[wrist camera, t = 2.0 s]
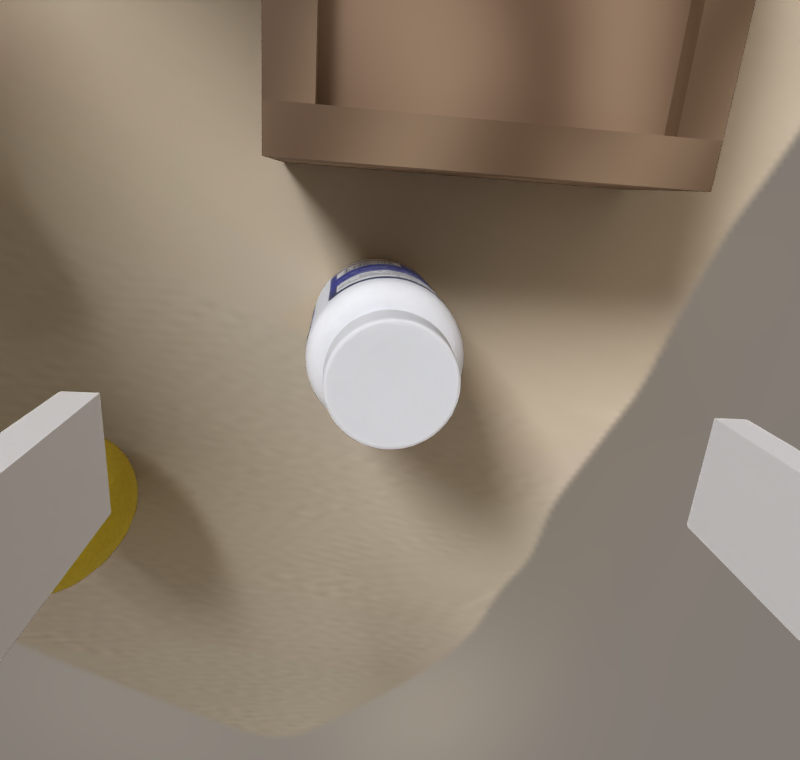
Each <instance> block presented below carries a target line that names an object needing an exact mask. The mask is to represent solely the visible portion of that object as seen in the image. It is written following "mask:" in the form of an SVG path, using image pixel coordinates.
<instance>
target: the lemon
mask: <svg viewBox="0 0 800 760" xmlns="http://www.w3.org/2000/svg"><path fill="white" fill-rule="evenodd" d="M104 442H105V452H106V463H107V473H108V484H109V495H110V505H111V514H110V515H109V516H108V518H107V519H106V520H105V522H104V523H103V524H102V526H101V527H100V528H99V530H98V531H97V533H96V534H95V535H94V537H93V538H92V539H91V541H90V542H89V543H88V545H87V546H86V547H85V549H84V550H83V551H82V553H81V554H80V555H79V557H78V558H77V559H76V561H75V562H74V563H73V565H72V566H71V567H70V569H69V570H68V571H67V573H66V574H65V575H64V577H63V578H62V579H61V581H60V582H59V583H58V585H57V586H56V587H55V589H54V590H53V592H52V593H51V594H53V593H56V592H58V591H61V590H63V589H66V588H68V587H70V586H72V585H74V584H76V583H78V582H79V581H81V580H82V579H83V578H85V577H86V576H87V575H89V574H90V573H92V572H93V571H94V570H96V569H97V568H98V567H99V566H101V565H102V564H103V563H104V562H105V561H106V560H107V559H108V558H109V556H110V555H111V554H112V553H113V552H114V550H115V549H116V548H117V546H118V545H119V544H120V543H121V541H122V540H123V539H124V537H125V535H126V534H127V532H128V530H129V527H130V525H131V522H132V519H133V517H134V514H135V511H136V508H137V497H138V485H137V480H136V476H135V472H134V469H133V467H132V466H131V464H130V462H129V460H128V458H127V456H126V455H125V454H124V453H123V452H122V451H121V450H120V449H119V448H118V447H117V446H116V445H115V444H113V443H112V442H110V441H109V440H107V439H106V438H104Z"/></svg>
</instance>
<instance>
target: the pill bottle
mask: <svg viewBox="0 0 800 760" xmlns="http://www.w3.org/2000/svg"><path fill="white" fill-rule="evenodd" d="M463 361H464V350H463V342H462V337H461V334H460V330H459V328H458V326H457V323H456V321H455V319H454V317H453V316H452V314H451V312H450V311H449V309H448V308H447V307H446V305H445V304H444V303H443V302H442V300H441V299H440V298H439V297H438V296H437V294H436V293H435V292H434V291H433V290H432V289H431V288H430V286H429V285H428V284H427V283H426V282H425V281H424V280H423V279H422V278H421V277H420V276H419V275H418V274H417V273H416V272H414V271H413V270H412V269H410V268H409V267H407V266H405V265H403V264H401V263H398V262H395V261H392V260H387V259H367V260H362V261H358V262H355V263H352V264H350V265H348V266H346V267H345V268H343V269H341V270H340V271H339V272H337V273H336V274H335V275H334V276H333V277H332V278H331V279H330V280H329V281H328V282H327V284H326V285H325V286H324V288H323V289H322V291H321V293H320V295H319V297H318V300H317V303H316V306H315V309H314V313H313V318H312V323H311V326H310V330H309V334H308V339H307V344H306V369H307V374H308V378H309V381H310V384H311V386H312V389H313V391H314V393H315V394H316V396H317V398H318V399H319V400H320V402H321V403H322V405H323V406H324V407H325V408H326V409H327V410H328V412H329V414H330V415H331V417H332V419H333V420H334V422H335V423H336V424H337V426H338V427H339V428H340V429H341V430H342V431H343V432H344V433H345V434H347V435H348V436H349V437H351V438H352V439H354V440H355V441H357V442H359V443H361V444H364V445H367V446H370V447H373V448H378V449H387V450H390V449H402V448H408V447H411V446H414V445H417V444H419V443H421V442H424V441H426V440H427V439H429V438H430V437H432V436H433V435H435V434H436V433H437V432H438V431H439V430H440V429H441V428H442V427H443V426H444V425H445V424H446V423H447V422H448V420H449V419H450V417H451V416H452V414H453V412H454V410H455V408H456V405H457V403H458V399H459V395H460V389H461V374H462V369H463Z"/></svg>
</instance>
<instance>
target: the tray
mask: <svg viewBox="0 0 800 760" xmlns="http://www.w3.org/2000/svg"><path fill="white" fill-rule="evenodd" d="M754 5H755V0H262V156H265V157H269V158H272V159H275V160H278V161H282V162H291V163H303V164H316V165H328V166H341V167H354V168H366V169H379V170H391V171H404V172H416V173H429V174H441V175H454V176H466V177H479V178H491V179H504V180H516V181H529V182H541V183H554V184H566V185H579V186H591V187H604V188H617V189H632V190H667V191H702V192H711V190H712V185H713V181H714V177H715V172H716V168H717V164H718V159H719V155H720V151H721V147H722V142H723V138H724V134H725V129H726V125H727V121H728V116H729V112H730V108H731V104H732V99H733V95H734V91H735V86H736V82H737V78H738V74H739V69H740V65H741V61H742V56H743V52H744V48H745V43H746V39H747V35H748V31H749V26H750V22H751V18H752V13H753V9H754Z"/></svg>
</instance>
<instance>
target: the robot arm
mask: <svg viewBox="0 0 800 760" xmlns="http://www.w3.org/2000/svg"><path fill="white" fill-rule="evenodd" d="M110 514H111V505H110V495H109V484H108V473H107V463H106V452H105V442H104V431H103V420H102V410H101V399H100V393H92V392H68V391H60V392H58V393H57V394H55V395H54V396H52V397H51V398H49V399H48V400H47V401H45V402H44V403H42V404H41V405H39V406H38V407H36V408H35V409H34V410H32V411H31V412H29V413H28V414H26V415H25V416H23V417H22V418H21V419H19V420H18V421H16V422H15V423H13V424H12V425H11V426H9V427H8V428H6V429H5V430H3V431H2V432H0V661H1V660H2V658H3V657H4V656H5V655H6V653H7V652H8V650H9V649H10V648H11V646H12V645H13V644H14V642H15V641H16V640H17V638H18V637H19V636H20V634H21V633H22V632H23V630H24V629H25V628H26V626H27V625H28V624H29V622H30V621H31V620H32V618H33V617H34V616H35V614H36V613H37V612H38V610H39V609H40V608H41V606H42V605H43V604H44V602H45V601H46V600H47V598H48V597H49V596H50V594H51V593H52V592H53V590H54V589H55V587H56V586H57V585H58V583H59V582H60V581H61V579H62V578H63V577H64V575H65V574H66V573H67V571H68V570H69V569H70V567H71V566H72V565H73V563H74V562H75V561H76V559H77V558H78V557H79V555H80V554H81V553H82V551H83V550H84V549H85V547H86V546H87V545H88V543H89V542H90V541H91V539H92V538H93V537H94V535H95V534H96V533H97V531H98V530H99V528H100V527H101V526H102V524H103V523H104V522H105V520H106V519H107V518H108V516H109V515H110ZM687 527H688V528H689V529H690V530H691V531H692V532H693V533H694V534H695V535H696V536H697V537H698V538H699V539H700V540H701V541H702V542H703V543H704V544H705V545H706V546H707V547H708V548H709V549H710V550H711V551H712V552H713V553H714V554H715V555H716V556H717V557H718V558H719V559H720V560H721V561H722V562H723V563H724V564H725V565H726V566H727V567H728V568H729V569H730V570H731V572H732V573H733V574H734V575H735V576H736V577H737V578H738V579H739V580H740V581H741V582H743V584H744V585H745V586H746V587H747V588H749V590H750V591H751V592H752V593H753V594H754V595H755V596H756V597H757V598H758V599H759V600H760V601H761V602H762V603H763V604H764V605H765V606H766V607H767V608H768V609H769V610H770V611H771V612H772V613H773V614H774V615H775V616H776V617H777V618H778V619H779V620H780V621H781V622H782V623H783V624H784V626H786V628H788V630H789V631H790V632H792V634H793V635H794V636H795V637H796V638H797V639H798V640H799V641H800V451H799V450H798V449H796V448H794V447H792V446H791V445H789V444H787V443H786V442H784V441H782V440H781V439H779V438H777V437H776V436H774V435H772V434H771V433H769V432H767V431H765V430H764V429H762V428H760V427H759V426H757V425H755V424H754V423H752V422H750V421H749V420H747V419H722V418H715V419H714V422H713V427H712V430H711V434H710V438H709V442H708V446H707V449H706V453H705V457H704V461H703V465H702V469H701V473H700V476H699V480H698V484H697V488H696V492H695V496H694V499H693V503H692V507H691V511H690V515H689V519H688V523H687Z"/></svg>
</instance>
